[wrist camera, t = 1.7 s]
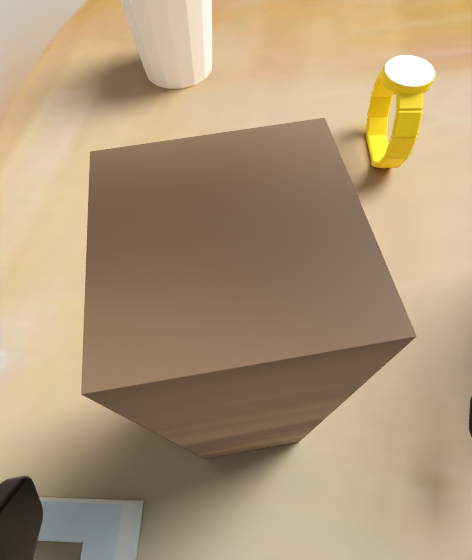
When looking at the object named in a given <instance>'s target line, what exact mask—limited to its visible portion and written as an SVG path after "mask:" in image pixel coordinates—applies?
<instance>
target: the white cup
mask: <svg viewBox="0 0 472 560" xmlns="http://www.w3.org/2000/svg"><path fill="white" fill-rule="evenodd" d="M120 2H121V5H122V8H123V11H124V14H125V16H126V19H127V22H128V25H129V28H130V30H131V33H132V36H133V39H134V42H135V44H136V47H137V50H138V53H139V56H140V58H141V61H142V64H143V67H144V70H145V72H146V75H147V77H148V79H149V80H150V81H151V82H152V83H154V84H155V85H157V86H160V87H164V88H168V89H182V88H186V87H190V86H193V85H196V84H198V83H199V82H201V81H203V80H204V79H206V77H207V76H208V75H209V73H210V72H211V68H212V0H120Z"/></svg>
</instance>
